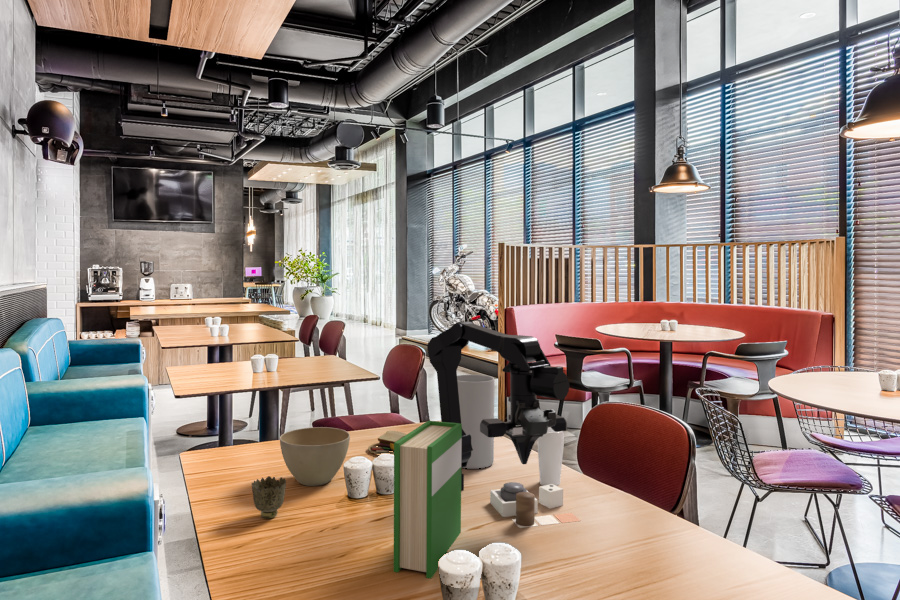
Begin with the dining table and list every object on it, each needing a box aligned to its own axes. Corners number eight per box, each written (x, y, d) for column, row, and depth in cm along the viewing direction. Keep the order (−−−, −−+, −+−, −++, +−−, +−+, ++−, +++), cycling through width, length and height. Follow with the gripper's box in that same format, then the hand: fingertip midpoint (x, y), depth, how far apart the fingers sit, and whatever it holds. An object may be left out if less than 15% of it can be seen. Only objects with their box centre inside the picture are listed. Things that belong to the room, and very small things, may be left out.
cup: (292, 512, 133) (292, 478, 132) (273, 525, 126) (272, 489, 125) (265, 508, 135) (265, 474, 135) (244, 520, 128) (244, 485, 128)
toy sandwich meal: (359, 452, 180) (359, 437, 179) (388, 442, 191) (388, 428, 190) (389, 460, 172) (389, 444, 172) (418, 449, 183) (418, 434, 183)
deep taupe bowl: (299, 499, 141) (299, 449, 140) (268, 479, 154) (268, 434, 154) (362, 482, 153) (362, 436, 152) (328, 465, 166) (328, 423, 166)
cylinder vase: (501, 461, 171) (501, 377, 170) (480, 472, 161) (481, 383, 160) (464, 453, 178) (465, 373, 177) (442, 464, 167) (443, 379, 166)
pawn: (520, 527, 123) (520, 499, 123) (513, 519, 127) (513, 492, 127) (537, 525, 124) (537, 497, 124) (530, 517, 128) (530, 491, 128)
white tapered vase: (562, 491, 147) (563, 433, 146) (536, 489, 148) (536, 431, 148) (563, 482, 153) (564, 426, 153) (537, 480, 155) (538, 425, 154)
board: (513, 535, 121) (514, 517, 121) (488, 506, 137) (488, 490, 137) (590, 526, 126) (591, 508, 126) (558, 499, 142) (558, 483, 142)
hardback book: (431, 578, 104) (432, 446, 103) (393, 571, 106) (394, 442, 105) (460, 537, 121) (461, 423, 120) (427, 532, 123) (428, 420, 122)
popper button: (505, 513, 130) (506, 491, 130) (496, 503, 136) (496, 482, 136) (530, 510, 132) (530, 489, 132) (520, 500, 138) (520, 480, 137)
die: (549, 509, 134) (550, 491, 134) (538, 503, 137) (539, 486, 137) (563, 505, 136) (563, 488, 136) (551, 500, 139) (552, 483, 139)
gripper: (497, 403, 117) (497, 479, 118) (579, 397, 123) (579, 470, 123) (478, 393, 128) (479, 463, 128) (555, 388, 133) (555, 456, 134)
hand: (523, 463), depth 128 cm, fingers closed
